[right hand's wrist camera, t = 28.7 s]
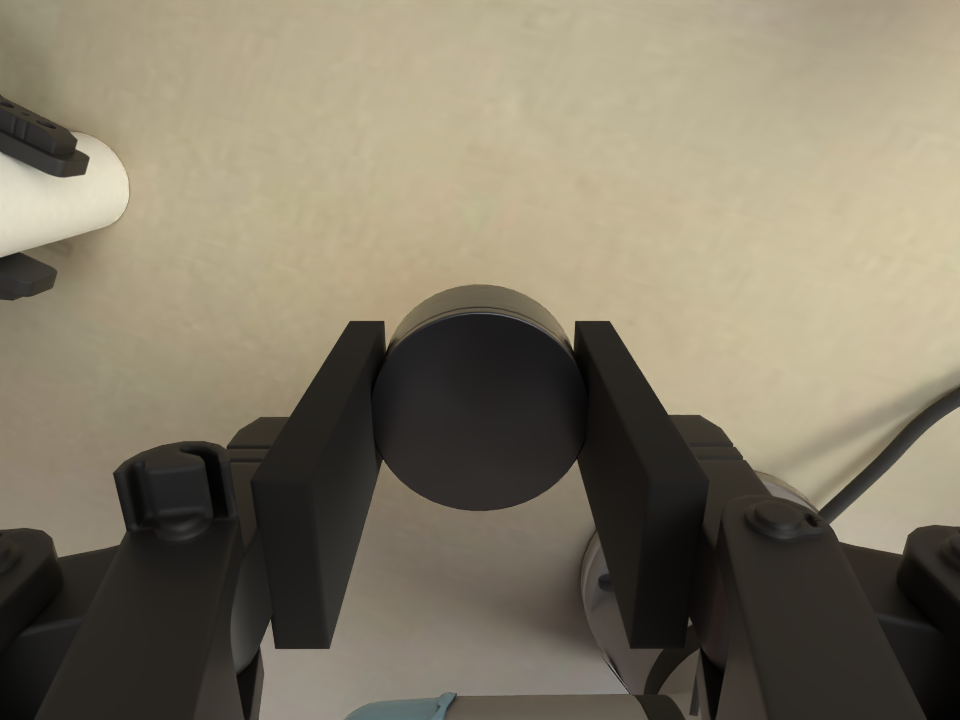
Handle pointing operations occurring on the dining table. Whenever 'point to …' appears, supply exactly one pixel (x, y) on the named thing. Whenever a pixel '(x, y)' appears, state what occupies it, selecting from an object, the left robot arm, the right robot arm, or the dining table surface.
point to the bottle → (59, 198)
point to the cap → (479, 399)
